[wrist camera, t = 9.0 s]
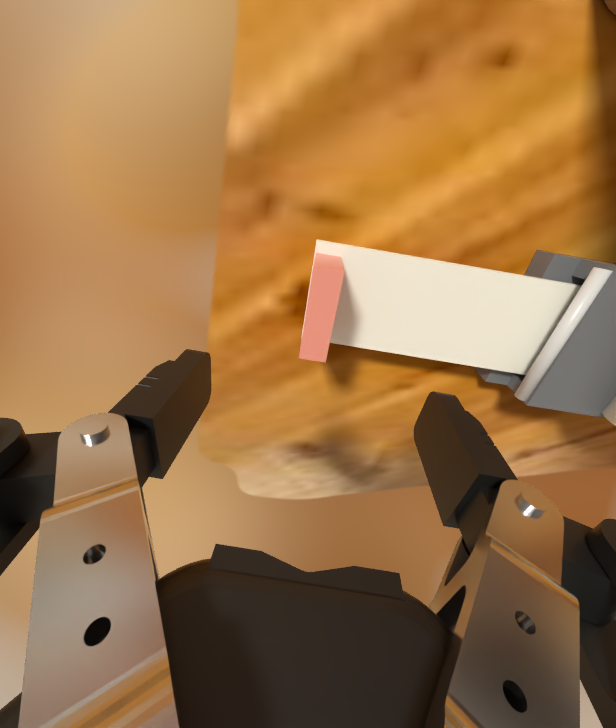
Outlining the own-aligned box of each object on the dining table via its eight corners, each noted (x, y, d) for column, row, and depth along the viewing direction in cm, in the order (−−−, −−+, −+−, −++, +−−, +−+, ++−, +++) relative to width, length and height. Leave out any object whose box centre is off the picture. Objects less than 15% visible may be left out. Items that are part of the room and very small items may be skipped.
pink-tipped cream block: (317, 239, 21) (313, 250, 16) (584, 285, 21) (661, 310, 16) (301, 335, 24) (295, 368, 20) (530, 372, 25) (579, 414, 20)
